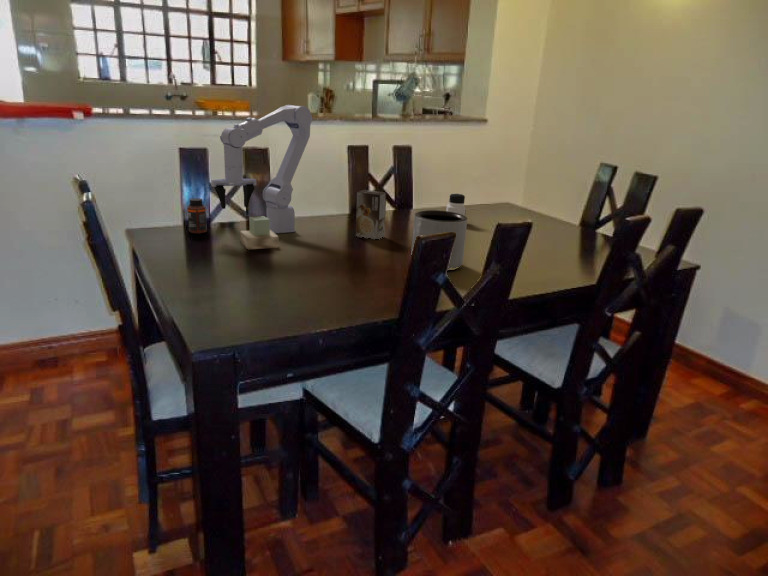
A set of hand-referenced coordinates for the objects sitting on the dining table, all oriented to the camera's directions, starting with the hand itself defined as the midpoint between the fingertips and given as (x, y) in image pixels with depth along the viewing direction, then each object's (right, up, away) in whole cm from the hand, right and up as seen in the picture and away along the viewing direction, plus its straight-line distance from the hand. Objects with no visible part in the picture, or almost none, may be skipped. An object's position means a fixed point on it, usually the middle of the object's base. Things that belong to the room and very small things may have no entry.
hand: (234, 207), depth 187 cm
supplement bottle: (-14, -8, +6) cm, 17 cm away
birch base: (+9, -13, -4) cm, 16 cm away
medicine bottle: (+79, 0, +43) cm, 90 cm away
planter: (+66, -20, -14) cm, 70 cm away
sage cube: (+9, -9, -5) cm, 14 cm away
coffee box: (+45, -9, +14) cm, 48 cm away
